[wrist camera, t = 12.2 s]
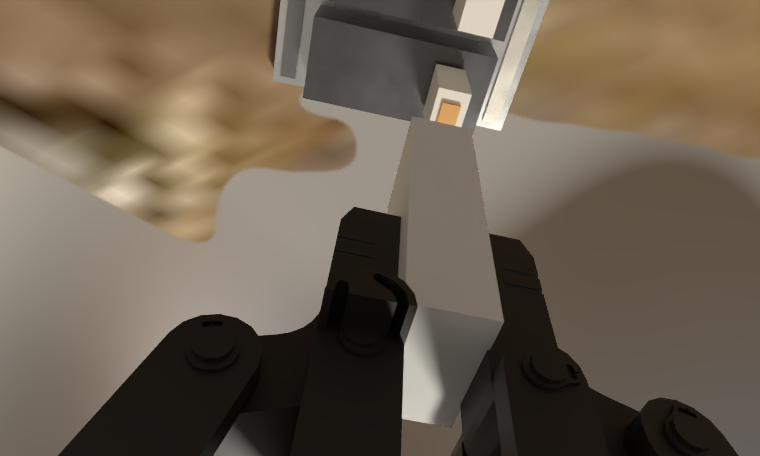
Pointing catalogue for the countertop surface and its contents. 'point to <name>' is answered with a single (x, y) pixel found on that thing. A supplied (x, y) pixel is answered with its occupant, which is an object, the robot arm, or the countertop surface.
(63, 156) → the countertop surface
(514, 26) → the panel
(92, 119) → the countertop surface
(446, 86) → the handle
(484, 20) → the handle mid
